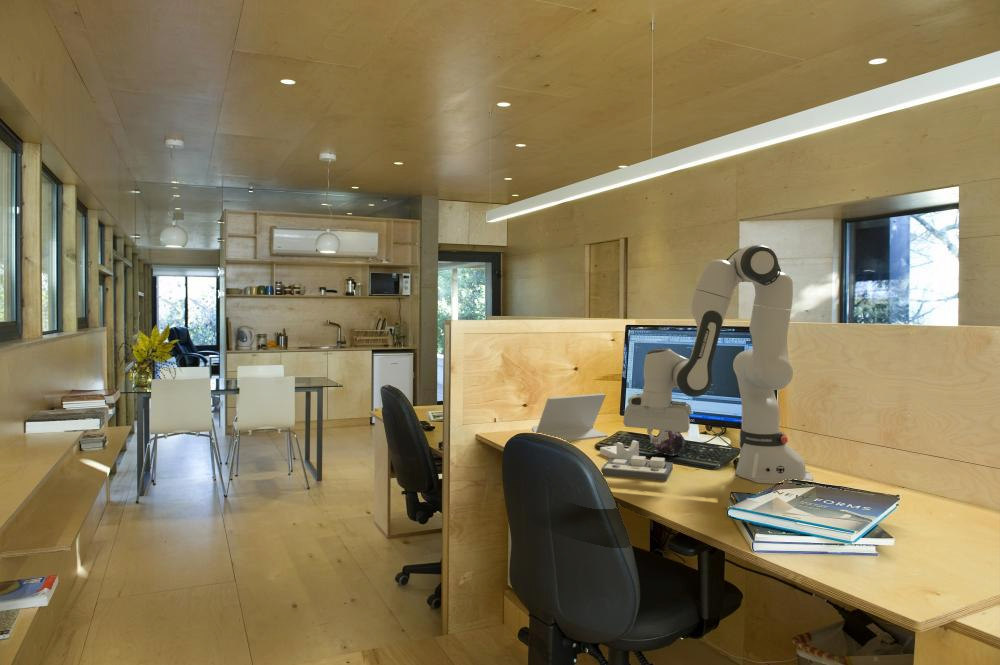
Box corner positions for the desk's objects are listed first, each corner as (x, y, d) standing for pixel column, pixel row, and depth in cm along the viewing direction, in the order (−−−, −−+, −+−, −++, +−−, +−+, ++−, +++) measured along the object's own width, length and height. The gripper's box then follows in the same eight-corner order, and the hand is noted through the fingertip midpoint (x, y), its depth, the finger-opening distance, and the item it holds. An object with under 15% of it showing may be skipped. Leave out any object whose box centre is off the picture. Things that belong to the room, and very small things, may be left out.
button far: (627, 467, 228) (627, 459, 228) (624, 470, 224) (624, 463, 224) (614, 466, 230) (614, 458, 229) (612, 469, 226) (612, 461, 226)
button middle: (645, 464, 226) (645, 456, 226) (643, 467, 222) (643, 459, 222) (633, 463, 227) (633, 455, 227) (630, 466, 224) (630, 458, 223)
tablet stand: (608, 437, 276) (608, 394, 274) (551, 443, 266) (550, 399, 265) (585, 428, 292) (585, 387, 291) (531, 433, 283) (530, 391, 281)
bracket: (638, 464, 237) (638, 442, 236) (620, 466, 234) (620, 444, 234) (617, 455, 249) (617, 434, 248) (600, 457, 246) (600, 436, 245)
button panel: (672, 471, 226) (672, 461, 226) (666, 484, 213) (666, 473, 213) (611, 466, 234) (611, 456, 233) (601, 477, 221) (601, 467, 220)
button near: (664, 465, 224) (664, 458, 223) (663, 469, 220) (663, 461, 220) (652, 464, 225) (652, 457, 225) (650, 467, 221) (650, 460, 221)
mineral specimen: (645, 447, 250) (655, 421, 251) (670, 457, 253) (680, 431, 253) (658, 453, 241) (668, 426, 241) (683, 463, 243) (694, 436, 244)
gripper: (692, 400, 220) (690, 444, 221) (626, 395, 227) (625, 437, 228) (690, 404, 214) (688, 449, 215) (623, 398, 221) (621, 442, 223)
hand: (655, 443), depth 222 cm, fingers closed
